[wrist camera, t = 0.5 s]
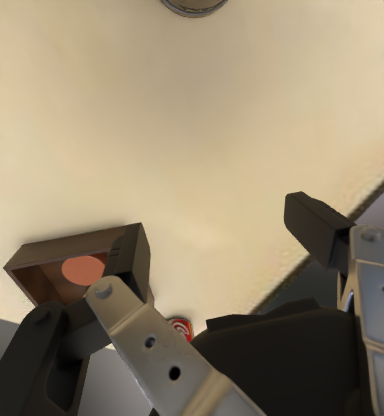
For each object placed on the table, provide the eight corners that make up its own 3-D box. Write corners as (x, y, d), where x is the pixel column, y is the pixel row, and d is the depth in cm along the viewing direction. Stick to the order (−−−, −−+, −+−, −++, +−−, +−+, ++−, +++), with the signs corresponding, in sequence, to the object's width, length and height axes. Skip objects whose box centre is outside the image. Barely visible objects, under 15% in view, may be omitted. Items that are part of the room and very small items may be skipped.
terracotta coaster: (58, 251, 31) (53, 260, 30) (100, 243, 32) (97, 251, 30) (76, 280, 34) (72, 289, 33) (114, 272, 35) (112, 281, 33)
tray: (22, 245, 30) (2, 267, 27) (127, 225, 31) (122, 244, 27) (72, 316, 39) (63, 340, 35) (154, 299, 40) (153, 322, 36)
